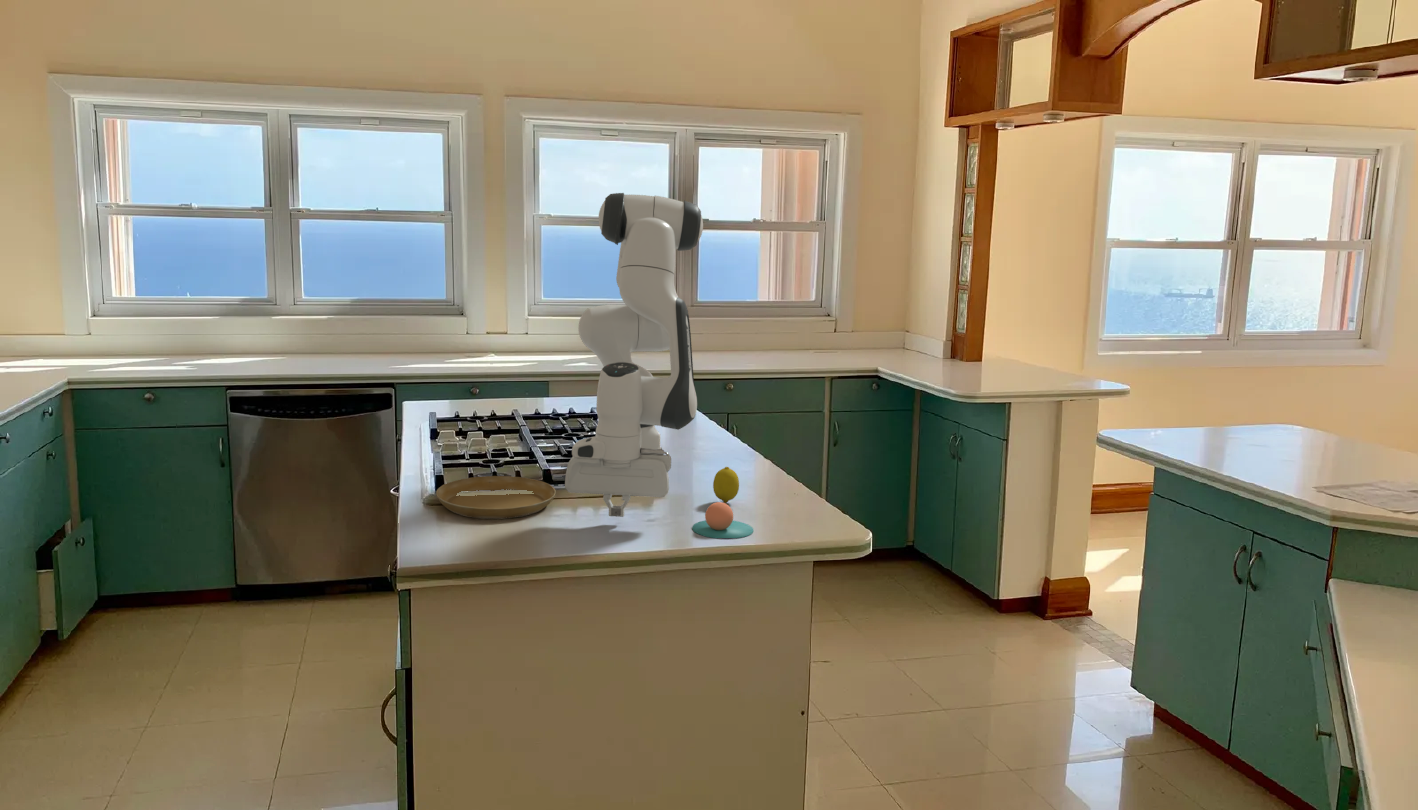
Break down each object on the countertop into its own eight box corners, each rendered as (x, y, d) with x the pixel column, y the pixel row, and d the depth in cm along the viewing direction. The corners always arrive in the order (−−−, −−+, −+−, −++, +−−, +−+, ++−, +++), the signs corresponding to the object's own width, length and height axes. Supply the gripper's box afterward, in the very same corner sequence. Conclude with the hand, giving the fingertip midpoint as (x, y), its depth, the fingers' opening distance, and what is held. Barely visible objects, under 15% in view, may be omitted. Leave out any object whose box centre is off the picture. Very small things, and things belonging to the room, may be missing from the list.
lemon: (735, 507, 217) (737, 470, 215) (710, 505, 218) (711, 468, 216) (740, 500, 222) (742, 465, 220) (715, 498, 223) (716, 462, 222)
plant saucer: (556, 523, 202) (556, 506, 201) (430, 524, 198) (430, 507, 197) (554, 490, 225) (554, 475, 225) (441, 490, 221) (441, 475, 221)
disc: (694, 518, 207) (694, 518, 207) (753, 522, 207) (753, 521, 207) (690, 537, 195) (690, 536, 195) (753, 540, 195) (753, 539, 195)
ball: (711, 494, 202) (738, 503, 202) (702, 519, 204) (728, 528, 204) (709, 503, 197) (736, 513, 197) (700, 528, 198) (726, 538, 198)
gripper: (672, 446, 202) (670, 514, 204) (569, 441, 202) (568, 508, 205) (670, 453, 196) (667, 523, 198) (563, 448, 196) (562, 517, 199)
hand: (616, 515), depth 201 cm, fingers closed
